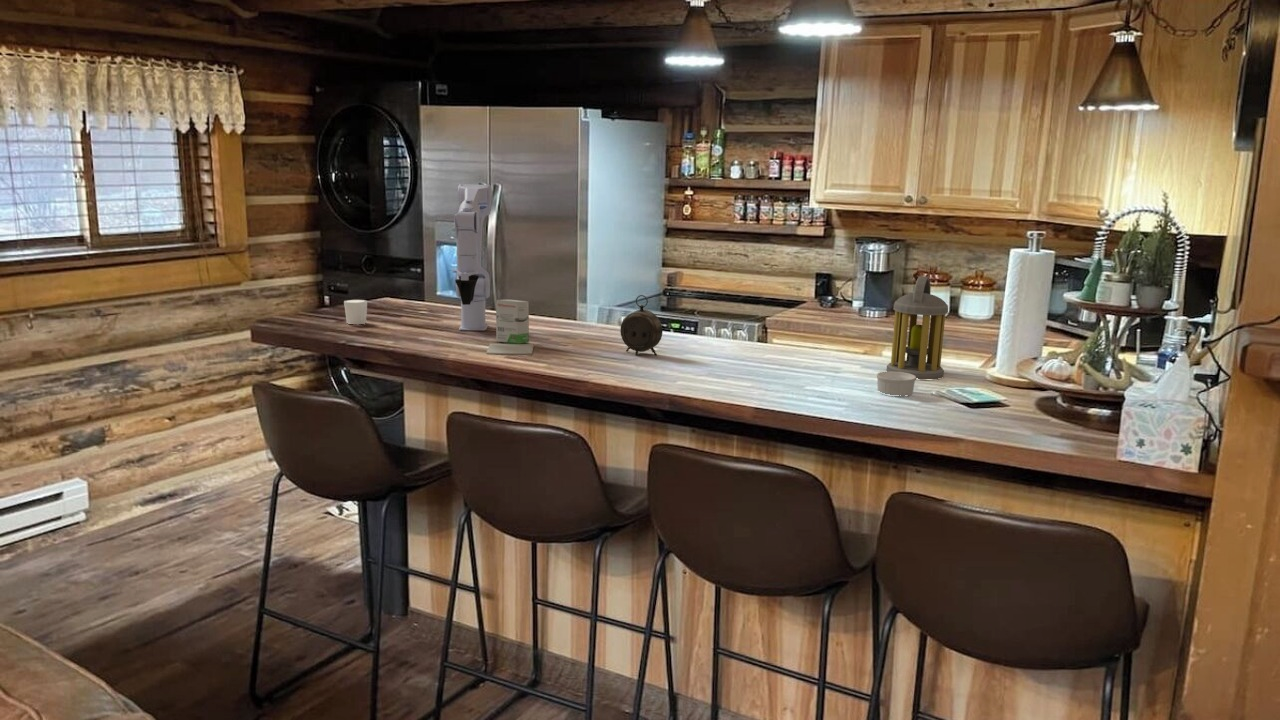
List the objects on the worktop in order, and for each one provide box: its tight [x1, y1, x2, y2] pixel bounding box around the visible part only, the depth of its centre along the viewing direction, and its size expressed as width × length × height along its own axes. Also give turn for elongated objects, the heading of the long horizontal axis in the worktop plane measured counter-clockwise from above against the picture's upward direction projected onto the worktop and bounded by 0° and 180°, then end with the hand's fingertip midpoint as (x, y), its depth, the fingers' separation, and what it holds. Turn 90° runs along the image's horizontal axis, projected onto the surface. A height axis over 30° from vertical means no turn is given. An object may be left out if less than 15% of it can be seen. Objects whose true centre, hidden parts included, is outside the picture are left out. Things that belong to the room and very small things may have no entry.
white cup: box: [343, 299, 368, 325], centre depth 291 cm, size 7×7×7 cm
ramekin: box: [876, 371, 917, 396], centre depth 223 cm, size 9×9×4 cm
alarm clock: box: [620, 294, 663, 356], centre depth 256 cm, size 11×5×16 cm, turn 66°
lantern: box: [885, 275, 949, 380], centre depth 241 cm, size 14×14×25 cm
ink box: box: [495, 298, 530, 344], centre depth 268 cm, size 9×5×12 cm, turn 55°
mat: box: [486, 343, 535, 355], centre depth 259 cm, size 12×12×1 cm
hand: (467, 302), depth 271 cm, fingers open, 6 cm apart
